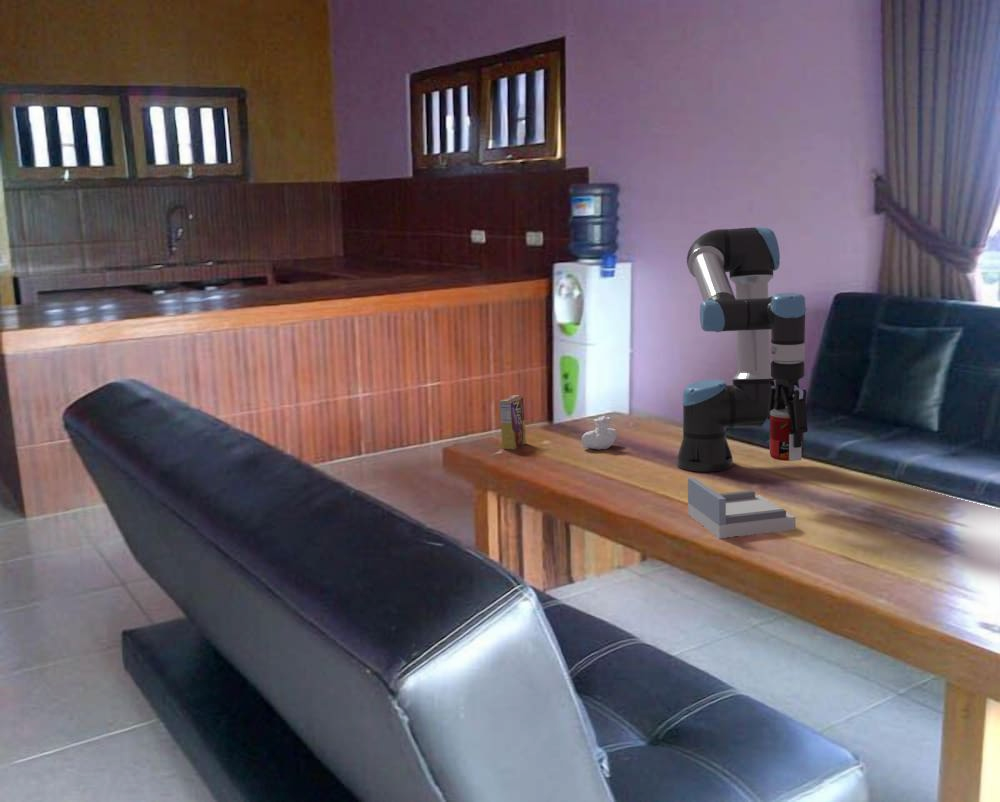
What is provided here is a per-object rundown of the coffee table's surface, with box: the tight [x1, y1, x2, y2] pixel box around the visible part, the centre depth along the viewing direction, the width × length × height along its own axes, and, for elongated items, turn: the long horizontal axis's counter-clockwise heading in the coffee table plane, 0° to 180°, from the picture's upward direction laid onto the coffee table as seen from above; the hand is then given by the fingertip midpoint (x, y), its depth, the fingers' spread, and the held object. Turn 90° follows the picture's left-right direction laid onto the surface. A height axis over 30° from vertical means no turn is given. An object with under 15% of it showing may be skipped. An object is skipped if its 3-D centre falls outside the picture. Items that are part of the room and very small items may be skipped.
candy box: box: [499, 394, 527, 451], centre depth 313 cm, size 9×4×15 cm, turn 152°
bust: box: [581, 415, 618, 451], centre depth 305 cm, size 12×8×11 cm
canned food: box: [769, 407, 804, 462], centre depth 239 cm, size 8×8×11 cm
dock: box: [687, 477, 796, 540], centre depth 232 cm, size 18×18×9 cm
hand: (786, 455), depth 240 cm, fingers closed on canned food, 8 cm apart
